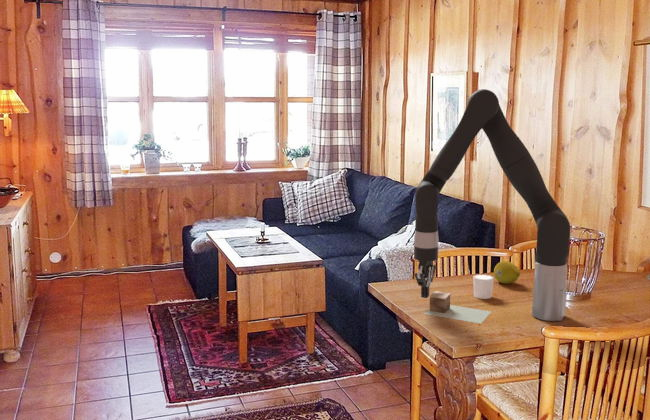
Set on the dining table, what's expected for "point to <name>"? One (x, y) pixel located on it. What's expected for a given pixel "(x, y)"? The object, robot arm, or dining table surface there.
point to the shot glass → (483, 286)
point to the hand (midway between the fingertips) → (425, 297)
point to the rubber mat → (462, 314)
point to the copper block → (439, 302)
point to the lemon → (506, 272)
